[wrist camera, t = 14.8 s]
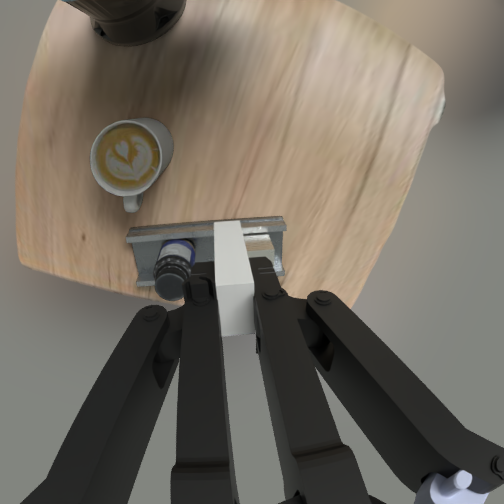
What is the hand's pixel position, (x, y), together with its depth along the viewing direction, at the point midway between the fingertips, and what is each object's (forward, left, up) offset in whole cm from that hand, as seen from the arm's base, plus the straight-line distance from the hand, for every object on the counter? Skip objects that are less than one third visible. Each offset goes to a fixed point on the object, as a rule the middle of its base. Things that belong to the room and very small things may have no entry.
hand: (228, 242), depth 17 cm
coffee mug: (-2, -13, -30) cm, 32 cm away
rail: (+15, -3, -29) cm, 33 cm away
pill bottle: (+15, -8, -29) cm, 33 cm away
